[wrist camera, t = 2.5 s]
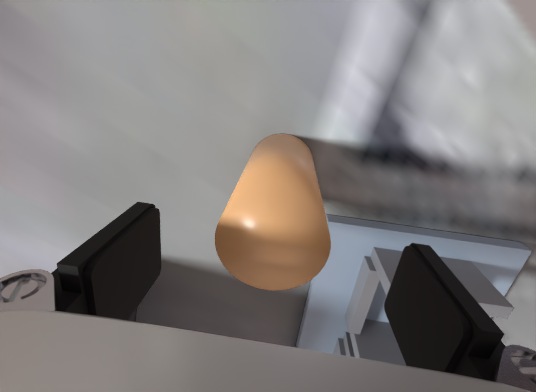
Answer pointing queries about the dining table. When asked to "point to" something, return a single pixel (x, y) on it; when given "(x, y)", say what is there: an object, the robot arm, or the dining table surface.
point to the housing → (380, 278)
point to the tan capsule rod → (275, 218)
